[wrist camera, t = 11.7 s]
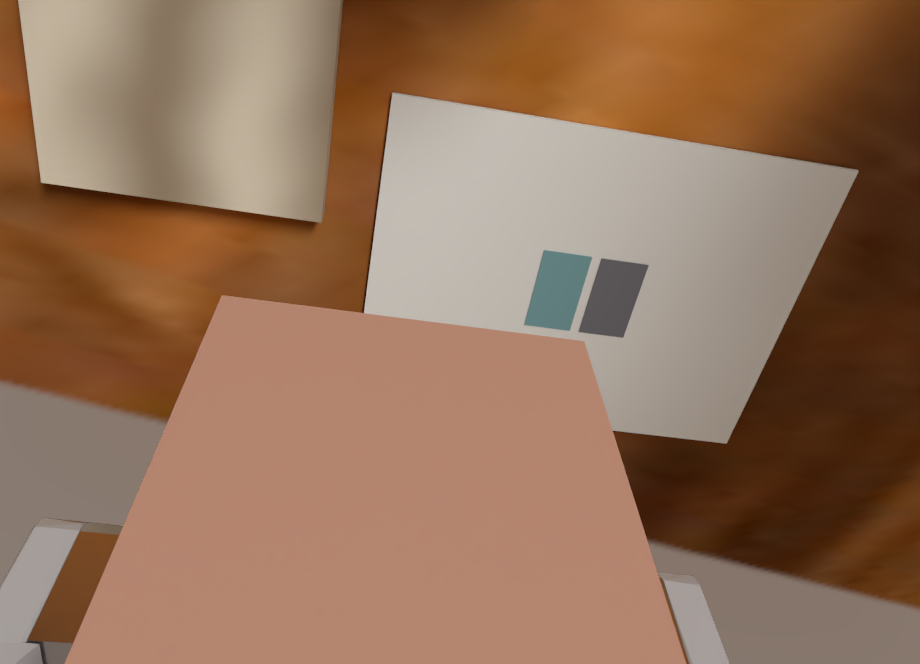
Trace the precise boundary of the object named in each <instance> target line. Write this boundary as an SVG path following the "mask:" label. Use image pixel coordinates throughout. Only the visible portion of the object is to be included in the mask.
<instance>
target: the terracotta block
mask: <svg viewBox="0 0 920 664" xmlns="http://www.w3.org/2000/svg"><path fill="white" fill-rule="evenodd" d="M65 664H686V661H685V658H684V655H683V651H682V648H681V645H680V642H679V639H678V636H677V633H676V629H675V626H674V623H673V620H672V617H671V614H670V610H669V607H668V604H667V601H666V598H665V595H664V592H663V588H662V585H661V582H660V579H659V576H658V573H657V569H656V566H655V563H654V560H653V557H652V554H651V551H650V547H649V544H648V541H647V538H646V535H645V532H644V528H643V525H642V522H641V519H640V516H639V513H638V510H637V506H636V503H635V500H634V497H633V494H632V491H631V487H630V484H629V481H628V478H627V475H626V472H625V469H624V465H623V462H622V459H621V456H620V453H619V450H618V446H617V443H616V440H615V437H614V434H613V431H612V428H611V424H610V421H609V418H608V415H607V412H606V409H605V405H604V402H603V399H602V396H601V393H600V390H599V387H598V383H597V380H596V377H595V374H594V371H593V368H592V364H591V361H590V358H589V355H588V352H587V349H586V346H585V342H584V341H579V340H571V339H563V338H555V337H547V336H540V335H532V334H524V333H516V332H508V331H500V330H492V329H484V328H476V327H468V326H461V325H453V324H445V323H437V322H429V321H421V320H413V319H405V318H397V317H390V316H382V315H374V314H366V313H358V312H350V311H342V310H334V309H326V308H318V307H311V306H303V305H295V304H287V303H279V302H271V301H263V300H255V299H247V298H240V297H232V296H224V295H222V297H221V299H220V301H219V304H218V306H217V308H216V311H215V313H214V315H213V318H212V320H211V322H210V325H209V327H208V329H207V332H206V334H205V336H204V339H203V341H202V343H201V346H200V348H199V350H198V353H197V355H196V357H195V360H194V362H193V364H192V367H191V369H190V371H189V374H188V376H187V378H186V381H185V383H184V385H183V388H182V390H181V392H180V395H179V397H178V399H177V402H176V404H175V406H174V409H173V411H172V413H171V416H170V418H169V420H168V423H167V425H166V427H165V430H164V432H163V434H162V437H161V439H160V442H159V444H158V446H157V449H156V451H155V453H154V456H153V458H152V460H151V463H150V465H149V467H148V470H147V472H146V474H145V477H144V479H143V482H142V484H141V486H140V488H139V491H138V493H137V495H136V498H135V500H134V503H133V505H132V507H131V509H130V512H129V514H128V516H127V519H126V521H125V524H124V526H123V528H122V530H121V533H120V535H119V537H118V540H117V542H116V544H115V547H114V549H113V551H112V554H111V556H110V558H109V561H108V563H107V565H106V568H105V570H104V572H103V575H102V577H101V579H100V582H99V584H98V586H97V589H96V591H95V594H94V596H93V598H92V601H91V603H90V605H89V608H88V610H87V612H86V615H85V617H84V619H83V622H82V624H81V626H80V629H79V631H78V633H77V636H76V638H75V640H74V643H73V645H72V647H71V650H70V652H69V654H68V657H67V659H66V661H65Z"/></svg>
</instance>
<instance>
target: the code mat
mask: <svg viewBox="0 0 920 664" xmlns="http://www.w3.org/2000/svg"><path fill="white" fill-rule="evenodd" d="M858 172H859V171H858V170H857V169H851V168H845V167H839V166H833V165H827V164H821V163H815V162H809V161H803V160H797V159H791V158H785V157H779V156H773V155H767V154H761V153H755V152H749V151H743V150H737V149H731V148H725V147H719V146H713V145H707V144H701V143H695V142H689V141H683V140H677V139H671V138H665V137H659V136H653V135H647V134H641V133H635V132H629V131H623V130H617V129H611V128H605V127H599V126H593V125H587V124H581V123H575V122H569V121H564V120H558V119H552V118H546V117H540V116H534V115H528V114H522V113H516V112H510V111H504V110H498V109H492V108H486V107H480V106H474V105H468V104H462V103H456V102H450V101H444V100H438V99H432V98H426V97H420V96H414V95H408V94H402V93H396V92H392V99H391V107H390V114H389V122H388V130H387V138H386V145H385V153H384V161H383V168H382V176H381V184H380V192H379V199H378V207H377V215H376V222H375V230H374V238H373V246H372V253H371V261H370V269H369V276H368V284H367V292H366V300H365V307H364V313H366V314H374V315H382V316H390V317H397V318H405V319H413V320H421V321H429V322H437V323H445V324H453V325H461V326H468V327H476V328H484V329H492V330H500V331H508V332H516V333H524V334H532V335H540V336H547V337H555V338H563V339H571V340H579V341H584V342H585V346H586V349H587V352H588V355H589V358H590V361H591V364H592V368H593V371H594V374H595V377H596V380H597V383H598V387H599V390H600V393H601V396H602V399H603V402H604V405H605V409H606V412H607V415H608V418H609V421H610V424H611V428H612V431H621V432H629V433H638V434H647V435H656V436H664V437H673V438H682V439H691V440H699V441H708V442H717V443H726V444H727V442H728V440H729V438H730V436H731V434H732V431H733V429H734V427H735V425H736V423H737V421H738V419H739V417H740V415H741V413H742V411H743V409H744V407H745V405H746V403H747V401H748V398H749V396H750V394H751V392H752V390H753V388H754V386H755V384H756V382H757V380H758V378H759V376H760V374H761V372H762V370H763V368H764V366H765V363H766V361H767V359H768V357H769V355H770V353H771V351H772V349H773V347H774V345H775V343H776V341H777V339H778V337H779V335H780V333H781V330H782V328H783V326H784V324H785V322H786V320H787V318H788V316H789V314H790V312H791V310H792V308H793V306H794V304H795V302H796V300H797V297H798V295H799V293H800V291H801V289H802V287H803V285H804V283H805V281H806V279H807V277H808V275H809V273H810V271H811V269H812V267H813V265H814V262H815V260H816V258H817V256H818V254H819V252H820V250H821V248H822V246H823V244H824V242H825V240H826V238H827V236H828V234H829V232H830V229H831V227H832V225H833V223H834V221H835V219H836V217H837V215H838V213H839V211H840V209H841V207H842V205H843V203H844V201H845V199H846V196H847V194H848V192H849V190H850V188H851V186H852V184H853V182H854V180H855V178H856V176H857V174H858Z"/></svg>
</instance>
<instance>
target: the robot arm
mask: <svg viewBox="0 0 920 664" xmlns="http://www.w3.org/2000/svg"><path fill="white" fill-rule="evenodd" d="M122 528H123V526H119V525H110V524H100V523H92V522H80V521H70V520H60V519H50V518H43V519H42V520H41V521H40V522H39V523H38V524H37V525H36V526H35V527H34V528H33V529H32V530H31V532H30V534H29V535H28V537H27V539H26V541H25V542H24V544H23V546H22V548H21V550H20V551H19V553H18V555H17V557H16V559H15V560H14V562H13V564H12V566H11V567H10V570H9V571H8V573H7V575H6V576H5V578H4V580H3V582H2V583H1V585H0V664H65V661H66V659H67V657H68V654H69V652H70V650H71V647H72V645H73V643H74V640H75V638H76V636H77V633H78V631H79V629H80V626H81V624H82V622H83V619H84V617H85V615H86V612H87V610H88V608H89V605H90V603H91V601H92V598H93V596H94V594H95V591H96V589H97V586H98V584H99V582H100V579H101V577H102V575H103V572H104V570H105V568H106V565H107V563H108V561H109V558H110V556H111V554H112V551H113V549H114V547H115V544H116V542H117V540H118V537H119V535H120V533H121V530H122ZM657 573H658V572H657ZM658 576H659V579H660V582H661V585H662V588H663V592H664V595H665V598H666V601H667V604H668V607H669V610H670V614H671V617H672V620H673V623H674V626H675V629H676V633H677V636H678V639H679V642H680V645H681V648H682V651H683V655H684V658H685V661H686V664H730V663H729V660H728V658H727V655H726V652H725V650H724V647H723V645H722V642H721V639H720V636H719V634H718V631H717V628H716V626H715V623H714V620H713V618H712V615H711V612H710V610H709V607H708V605H707V602H706V599H705V596H704V594H703V591H702V588H701V586H700V583H699V582H698V581H697V579H696V578H695V577H694V576H693V575H682V574H671V573H658Z"/></svg>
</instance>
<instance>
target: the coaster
mask: <svg viewBox="0 0 920 664" xmlns="http://www.w3.org/2000/svg"><path fill="white" fill-rule="evenodd" d="M18 3H19V10H20V18H21V26H22V34H23V42H24V50H25V58H26V66H27V74H28V82H29V90H30V98H31V106H32V114H33V122H34V130H35V138H36V145H37V153H38V161H39V169H40V177H41V183H47V184H54V185H61V186H68V187H75V188H82V189H89V190H96V191H103V192H110V193H117V194H124V195H131V196H138V197H145V198H152V199H159V200H166V201H173V202H180V203H187V204H194V205H201V206H208V207H214V208H221V209H228V210H235V211H242V212H249V213H256V214H263V215H270V216H277V217H284V218H291V219H298V220H305V221H312V222H319V223H322V219H323V215H324V210H325V199H326V188H327V176H328V165H329V154H330V143H331V131H332V120H333V109H334V98H335V87H336V75H337V64H338V53H339V42H340V30H341V19H342V8H343V0H18Z"/></svg>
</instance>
